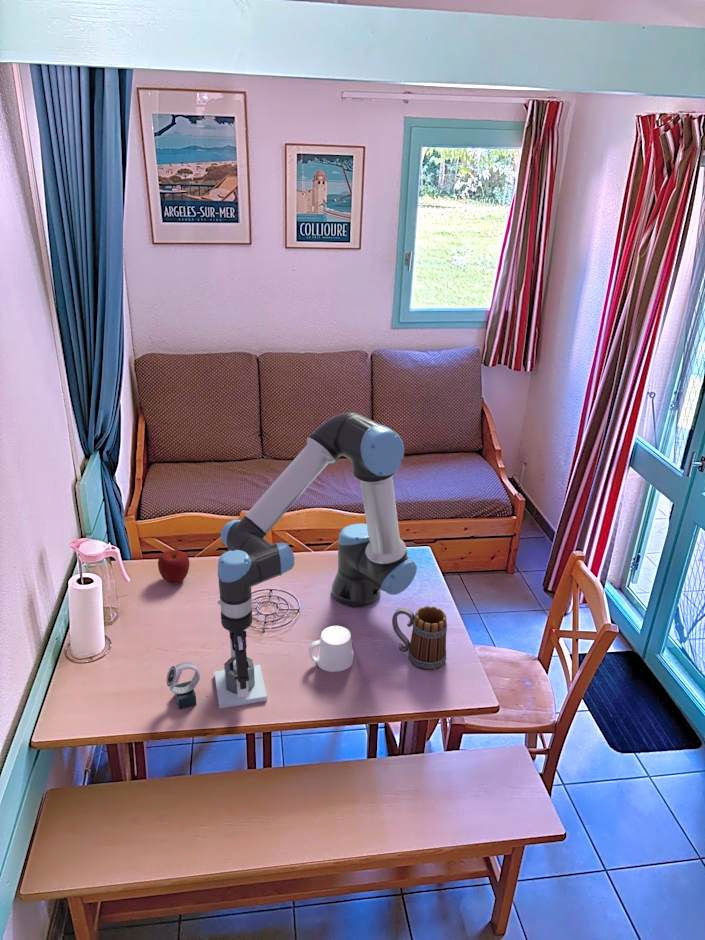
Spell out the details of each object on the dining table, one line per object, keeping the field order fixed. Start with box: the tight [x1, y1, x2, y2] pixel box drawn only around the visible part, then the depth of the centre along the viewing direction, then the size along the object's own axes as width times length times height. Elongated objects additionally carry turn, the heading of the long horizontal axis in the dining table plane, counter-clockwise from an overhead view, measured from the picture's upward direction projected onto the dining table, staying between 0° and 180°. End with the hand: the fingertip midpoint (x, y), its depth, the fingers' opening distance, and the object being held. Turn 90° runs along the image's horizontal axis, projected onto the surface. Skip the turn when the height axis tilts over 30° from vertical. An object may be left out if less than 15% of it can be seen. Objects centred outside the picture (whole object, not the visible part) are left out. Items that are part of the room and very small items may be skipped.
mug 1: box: [308, 625, 355, 673], centre depth 195 cm, size 12×9×8 cm
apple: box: [157, 549, 190, 585], centre depth 227 cm, size 10×10×10 cm
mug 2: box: [391, 605, 448, 672], centre depth 197 cm, size 16×11×15 cm
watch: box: [166, 662, 201, 710], centre depth 181 cm, size 6×8×11 cm
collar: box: [223, 656, 255, 694], centre depth 186 cm, size 7×7×6 cm
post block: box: [213, 660, 268, 709], centre depth 186 cm, size 12×12×8 cm
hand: (239, 677), depth 186 cm, fingers open, 13 cm apart
